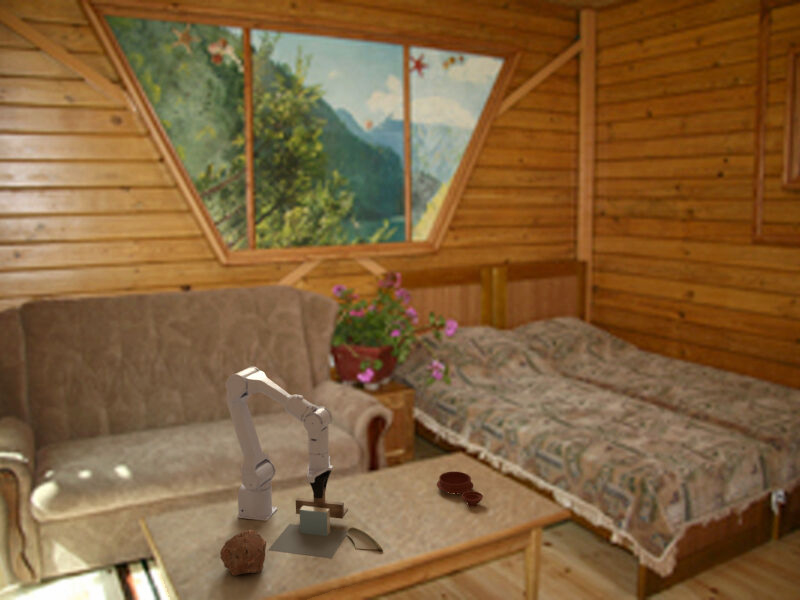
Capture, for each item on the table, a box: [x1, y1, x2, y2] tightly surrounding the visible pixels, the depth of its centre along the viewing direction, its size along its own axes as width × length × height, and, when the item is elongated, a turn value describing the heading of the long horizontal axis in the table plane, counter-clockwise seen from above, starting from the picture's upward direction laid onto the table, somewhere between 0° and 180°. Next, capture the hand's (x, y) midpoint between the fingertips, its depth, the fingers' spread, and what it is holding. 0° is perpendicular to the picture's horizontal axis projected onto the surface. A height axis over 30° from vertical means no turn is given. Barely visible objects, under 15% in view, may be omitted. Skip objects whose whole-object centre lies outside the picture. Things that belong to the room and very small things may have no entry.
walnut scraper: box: [295, 488, 349, 520], centre depth 206 cm, size 14×6×8 cm, turn 77°
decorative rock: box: [219, 529, 267, 576], centre depth 182 cm, size 13×11×10 cm
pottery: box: [436, 471, 484, 507], centre depth 225 cm, size 12×20×4 cm, turn 24°
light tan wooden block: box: [299, 506, 331, 536], centre depth 201 cm, size 8×2×7 cm, turn 76°
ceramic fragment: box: [346, 526, 384, 552], centre depth 195 cm, size 14×5×4 cm, turn 43°
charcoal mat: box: [268, 523, 348, 559], centre depth 197 cm, size 18×15×1 cm
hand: (319, 496), depth 204 cm, fingers closed on walnut scraper
